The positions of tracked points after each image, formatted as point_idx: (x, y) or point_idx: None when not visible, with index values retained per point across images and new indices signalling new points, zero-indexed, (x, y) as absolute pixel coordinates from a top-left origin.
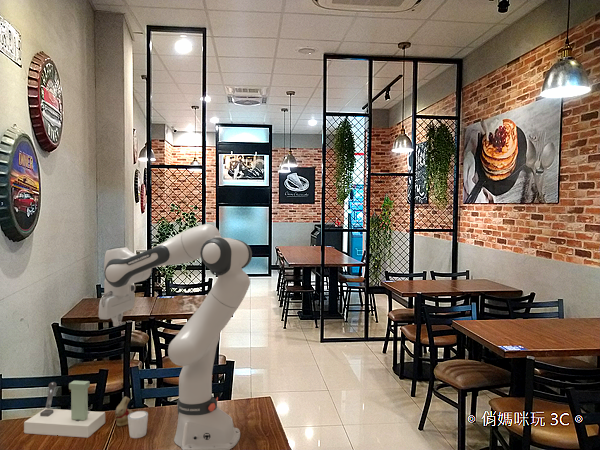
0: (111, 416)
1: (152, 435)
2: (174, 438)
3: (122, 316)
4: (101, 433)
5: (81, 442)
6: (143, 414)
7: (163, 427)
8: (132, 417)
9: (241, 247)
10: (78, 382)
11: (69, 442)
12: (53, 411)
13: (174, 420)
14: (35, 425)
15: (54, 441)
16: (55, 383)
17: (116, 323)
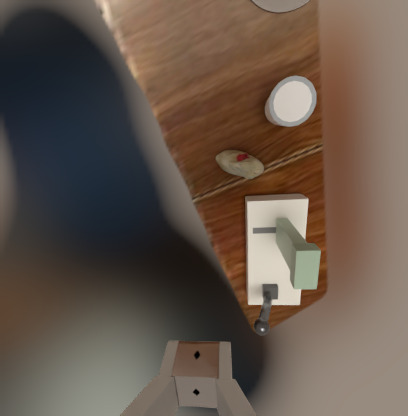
0: (220, 199)
1: (282, 73)
2: (302, 3)
3: (128, 411)
4: (283, 179)
5: (317, 194)
6: (288, 89)
7: (247, 68)
8: (305, 108)
9: None
10: (306, 272)
11: (318, 213)
12: (257, 286)
13: (213, 59)
14: None
15: (316, 237)
16: (260, 325)
17: (231, 369)
